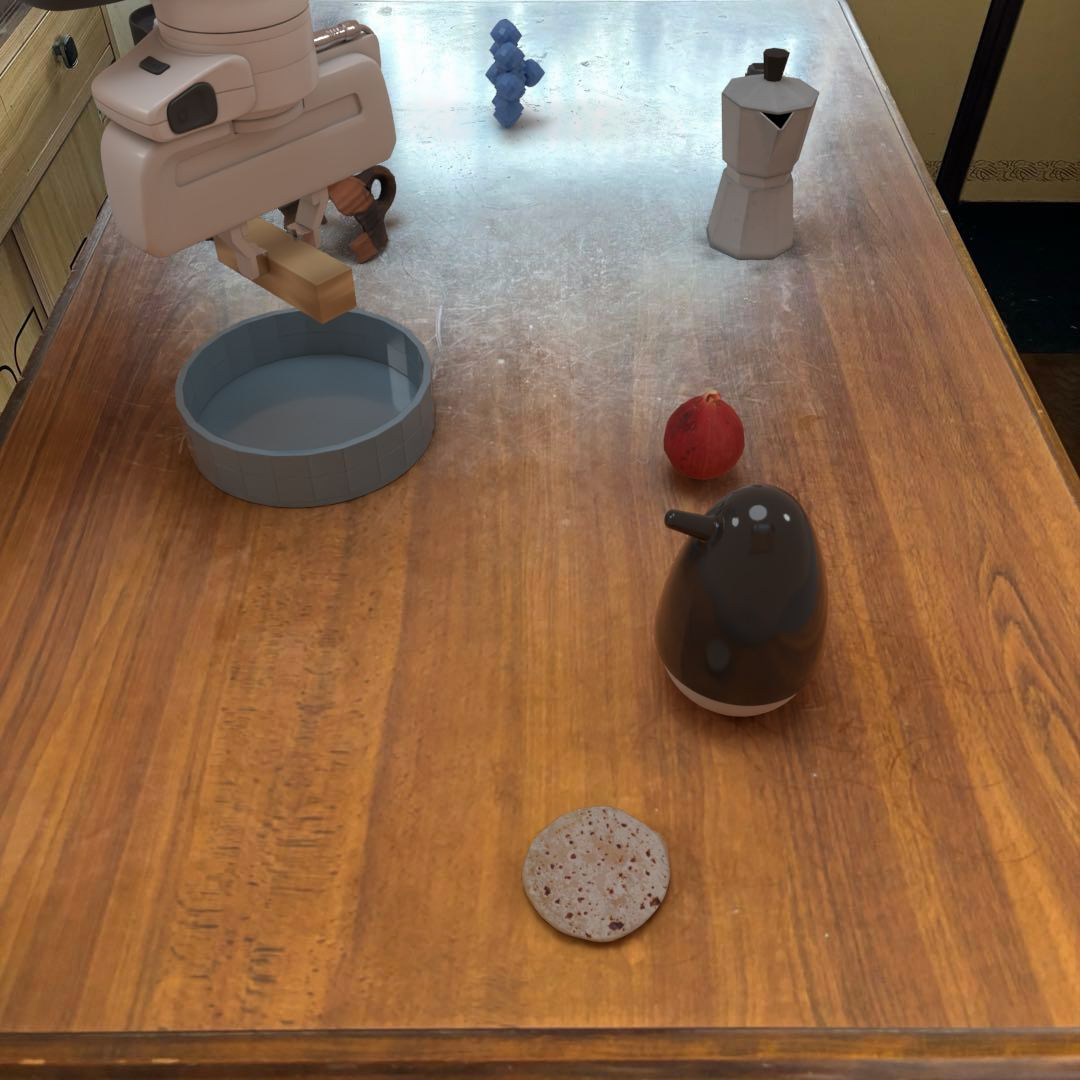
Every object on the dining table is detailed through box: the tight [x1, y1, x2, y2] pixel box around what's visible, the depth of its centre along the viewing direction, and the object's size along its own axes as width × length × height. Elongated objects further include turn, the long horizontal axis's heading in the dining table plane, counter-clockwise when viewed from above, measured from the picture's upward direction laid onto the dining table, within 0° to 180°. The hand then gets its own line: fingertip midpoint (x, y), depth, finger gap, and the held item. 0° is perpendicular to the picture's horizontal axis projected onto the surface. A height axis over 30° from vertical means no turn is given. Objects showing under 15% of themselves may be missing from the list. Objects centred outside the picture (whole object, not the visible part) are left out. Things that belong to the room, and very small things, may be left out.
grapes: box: [484, 18, 546, 128], centre depth 123 cm, size 12×7×12 cm, turn 5°
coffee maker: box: [705, 47, 820, 260], centre depth 103 cm, size 15×9×18 cm, turn 0°
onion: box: [662, 388, 746, 481], centre depth 80 cm, size 6×6×8 cm
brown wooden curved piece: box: [277, 164, 397, 264], centre depth 107 cm, size 12×10×8 cm
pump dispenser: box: [653, 483, 830, 717], centre depth 64 cm, size 10×10×15 cm
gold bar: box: [212, 216, 358, 324], centre depth 76 cm, size 12×3×3 cm, turn 47°
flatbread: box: [521, 805, 671, 943], centre depth 59 cm, size 8×8×1 cm
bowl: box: [174, 307, 436, 509], centre depth 86 cm, size 19×19×5 cm
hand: (280, 261), depth 76 cm, fingers closed on gold bar, 3 cm apart
